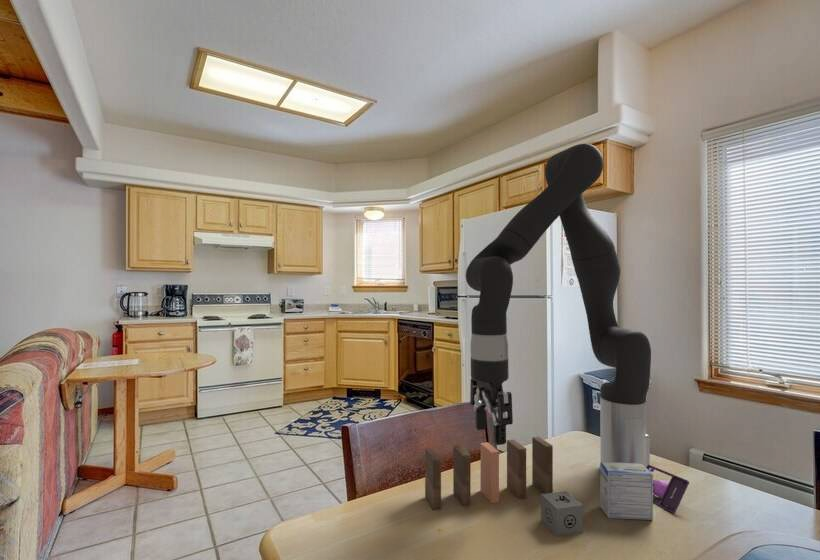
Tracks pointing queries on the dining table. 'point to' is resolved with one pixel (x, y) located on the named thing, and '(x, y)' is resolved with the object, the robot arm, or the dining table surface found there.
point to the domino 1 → (433, 478)
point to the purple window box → (669, 490)
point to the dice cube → (562, 513)
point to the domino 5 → (542, 465)
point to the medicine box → (626, 491)
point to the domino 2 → (462, 475)
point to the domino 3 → (489, 472)
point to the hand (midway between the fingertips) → (490, 436)
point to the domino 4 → (516, 469)
